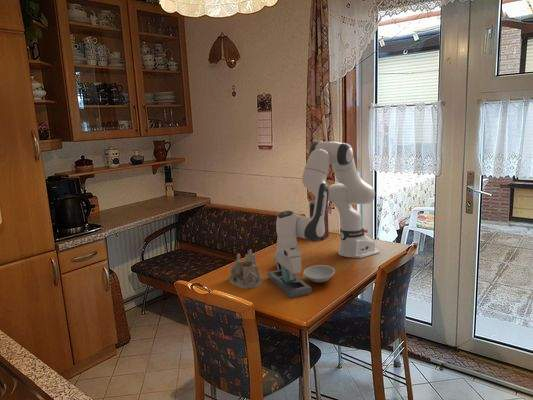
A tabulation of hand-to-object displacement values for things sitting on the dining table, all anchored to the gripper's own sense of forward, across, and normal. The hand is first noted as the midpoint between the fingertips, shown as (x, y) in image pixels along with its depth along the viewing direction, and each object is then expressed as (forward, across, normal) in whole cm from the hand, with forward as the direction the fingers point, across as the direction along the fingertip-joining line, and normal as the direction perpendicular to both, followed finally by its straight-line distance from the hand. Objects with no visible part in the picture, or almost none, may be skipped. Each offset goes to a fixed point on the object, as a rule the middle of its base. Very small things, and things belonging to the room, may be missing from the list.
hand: (288, 276), depth 188 cm
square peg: (+3, 0, 0) cm, 3 cm away
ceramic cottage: (+4, -14, -16) cm, 22 cm away
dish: (+4, +2, +14) cm, 15 cm away
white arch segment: (+4, -25, +10) cm, 27 cm away
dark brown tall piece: (+4, -61, +48) cm, 78 cm away
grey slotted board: (+4, 0, 0) cm, 4 cm away
